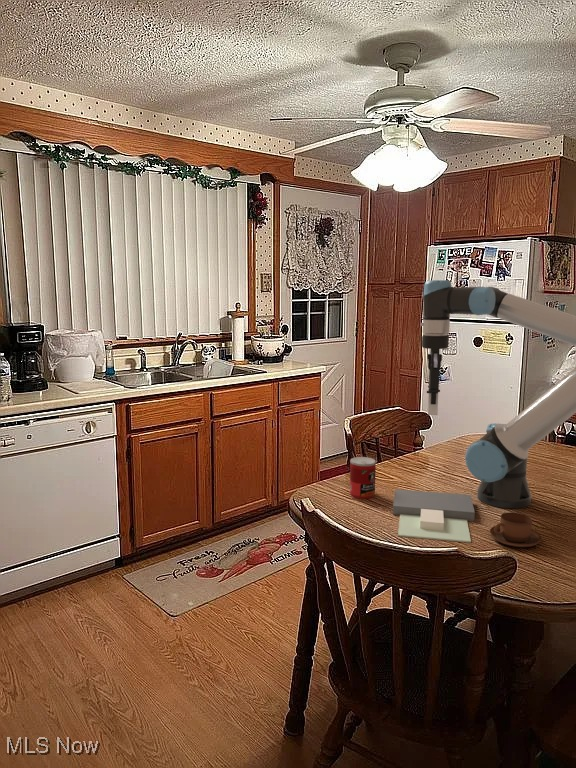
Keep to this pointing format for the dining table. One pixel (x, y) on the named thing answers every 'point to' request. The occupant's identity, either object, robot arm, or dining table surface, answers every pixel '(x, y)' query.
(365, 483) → the canned food
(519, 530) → the cup and saucer
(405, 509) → the plate
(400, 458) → the dining table surface
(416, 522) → the sage mat
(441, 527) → the cream flat block
